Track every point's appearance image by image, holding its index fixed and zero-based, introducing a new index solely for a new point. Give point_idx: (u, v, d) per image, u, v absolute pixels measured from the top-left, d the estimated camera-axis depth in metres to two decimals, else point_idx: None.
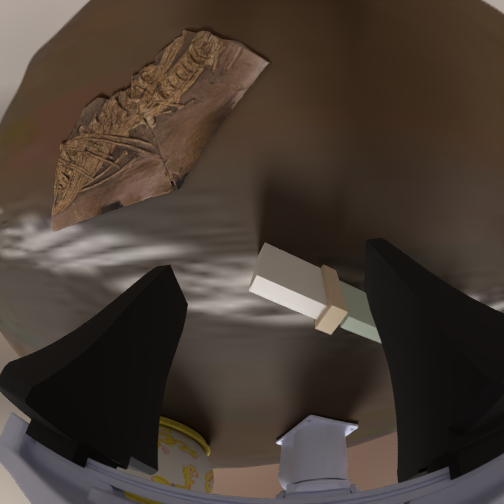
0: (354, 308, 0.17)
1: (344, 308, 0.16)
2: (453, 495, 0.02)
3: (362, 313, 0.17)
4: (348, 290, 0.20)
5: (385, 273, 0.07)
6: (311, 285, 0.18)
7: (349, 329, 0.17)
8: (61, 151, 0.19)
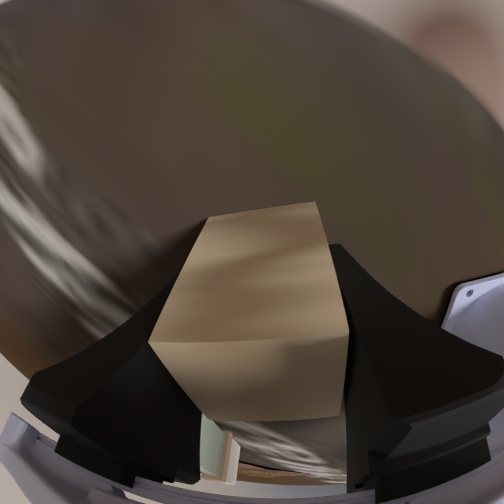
0: None
1: (202, 476, 0.18)
2: (453, 495, 0.02)
3: None
4: None
5: None
6: None
7: (212, 473, 0.17)
8: None
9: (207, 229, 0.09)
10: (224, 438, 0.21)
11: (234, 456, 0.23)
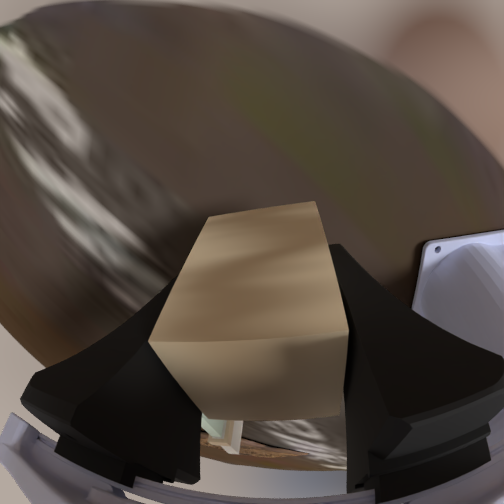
0: None
1: None
2: (453, 495, 0.02)
3: None
4: None
5: None
6: None
7: (218, 434, 0.21)
8: (261, 456, 0.39)
9: (207, 229, 0.09)
10: None
11: (238, 424, 0.26)
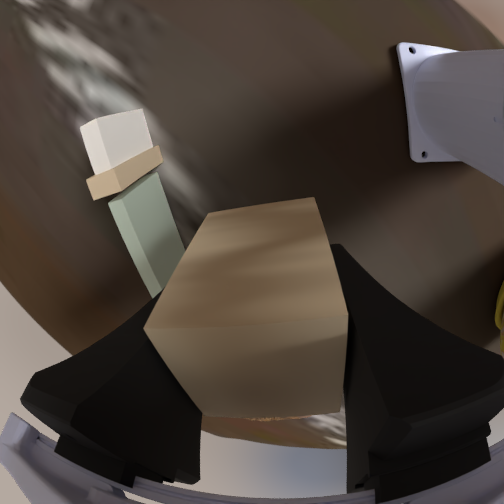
0: None
1: None
2: (453, 495, 0.02)
3: None
4: None
5: None
6: None
7: None
8: (254, 419, 0.36)
9: (206, 224, 0.09)
10: None
11: None
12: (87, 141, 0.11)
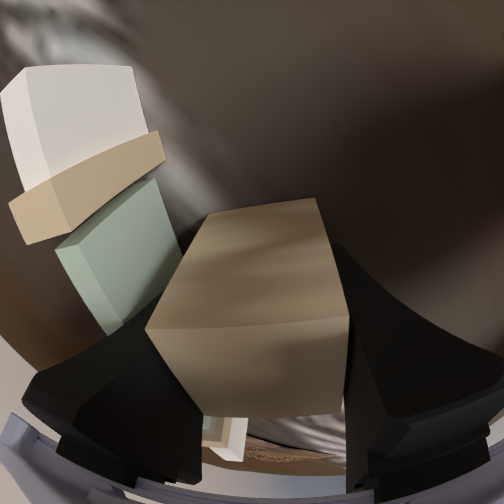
0: None
1: None
2: (453, 495, 0.02)
3: None
4: None
5: None
6: None
7: None
8: None
9: (207, 224, 0.09)
10: None
11: None
12: (9, 120, 0.04)
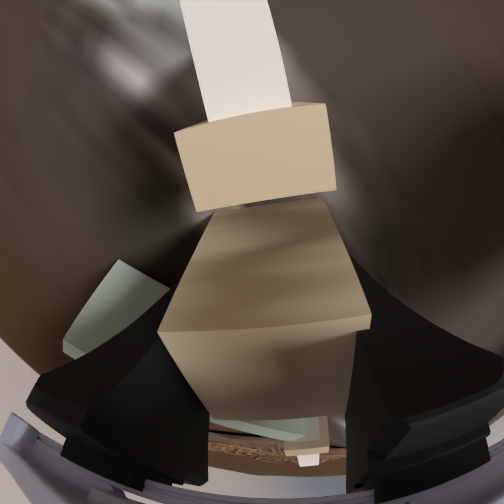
0: None
1: (284, 447, 0.10)
2: (453, 495, 0.02)
3: None
4: None
5: None
6: None
7: (291, 434, 0.09)
8: None
9: (214, 223, 0.09)
10: None
11: None
12: (197, 7, 0.03)
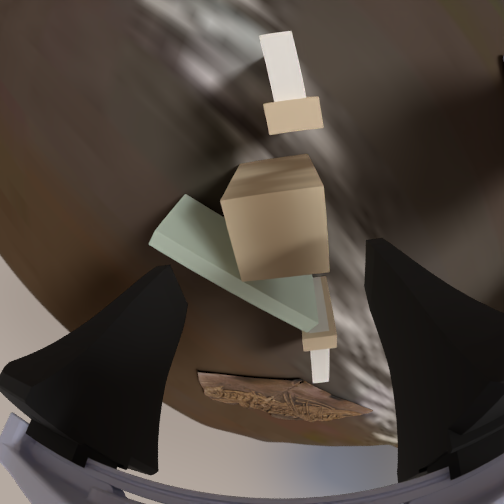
0: None
1: (302, 338, 0.15)
2: (453, 495, 0.02)
3: None
4: None
5: (385, 273, 0.07)
6: None
7: (308, 319, 0.15)
8: (314, 420, 0.33)
9: (241, 167, 0.15)
10: (321, 284, 0.19)
11: None
12: (270, 55, 0.08)
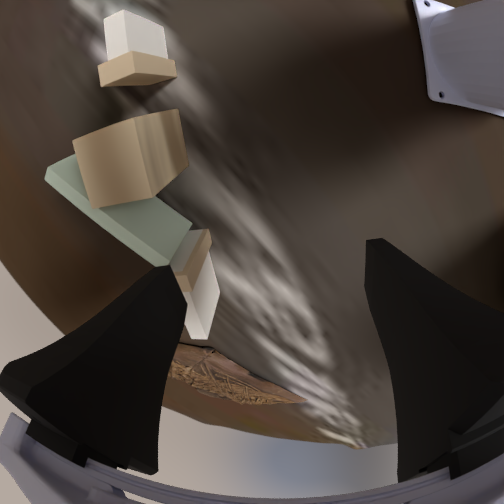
0: None
1: None
2: (453, 495, 0.02)
3: None
4: None
5: (385, 273, 0.07)
6: None
7: (160, 255, 0.15)
8: (243, 402, 0.34)
9: None
10: (200, 235, 0.19)
11: (211, 290, 0.20)
12: (108, 30, 0.08)
